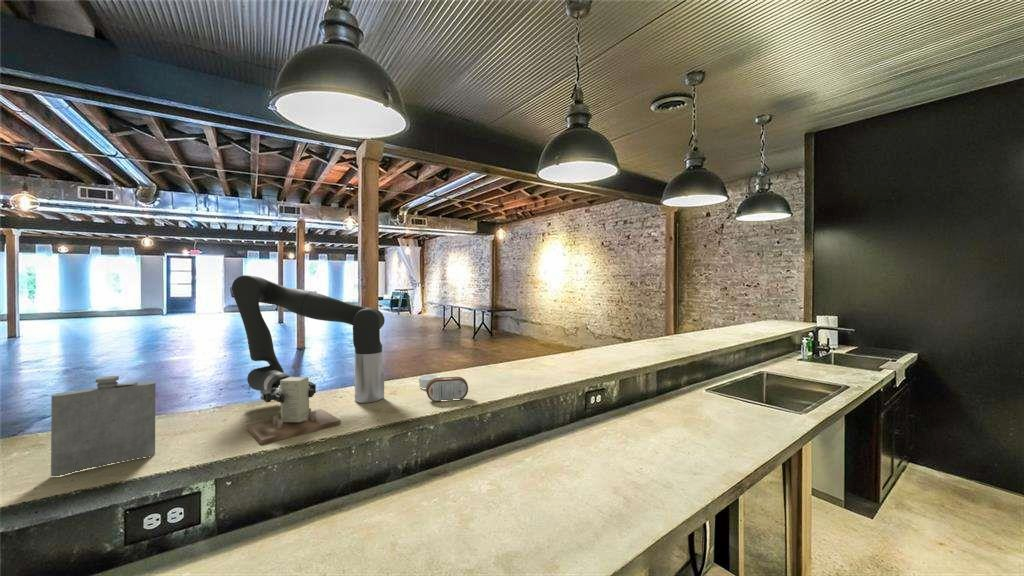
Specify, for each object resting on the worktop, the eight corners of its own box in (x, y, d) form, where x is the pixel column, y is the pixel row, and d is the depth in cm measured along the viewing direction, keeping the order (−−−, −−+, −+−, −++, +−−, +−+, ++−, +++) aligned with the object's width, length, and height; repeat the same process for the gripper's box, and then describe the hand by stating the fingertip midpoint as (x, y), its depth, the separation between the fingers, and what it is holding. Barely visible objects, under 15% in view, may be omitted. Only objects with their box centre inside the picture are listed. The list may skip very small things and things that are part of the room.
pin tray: (321, 412, 119) (321, 401, 119) (340, 424, 109) (340, 411, 109) (247, 429, 105) (247, 416, 105) (261, 444, 95) (261, 430, 95)
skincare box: (309, 417, 109) (310, 376, 109) (299, 423, 105) (300, 380, 104) (290, 416, 110) (290, 376, 110) (279, 422, 105) (279, 379, 105)
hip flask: (49, 480, 77) (49, 385, 77) (53, 472, 80) (54, 381, 80) (155, 456, 88) (155, 373, 88) (155, 450, 91) (155, 370, 91)
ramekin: (443, 388, 149) (443, 377, 149) (422, 391, 144) (422, 380, 144) (436, 383, 157) (436, 373, 157) (415, 386, 152) (415, 376, 152)
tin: (467, 397, 136) (467, 375, 136) (468, 400, 133) (468, 377, 133) (426, 401, 132) (426, 377, 132) (426, 403, 129) (426, 379, 129)
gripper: (253, 377, 111) (268, 388, 100) (305, 370, 122) (324, 379, 111) (253, 402, 112) (268, 415, 100) (304, 392, 122) (323, 403, 111)
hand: (297, 396), depth 105 cm, fingers closed on skincare box, 7 cm apart
